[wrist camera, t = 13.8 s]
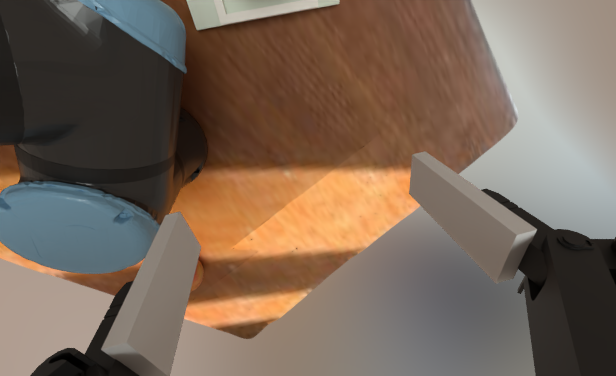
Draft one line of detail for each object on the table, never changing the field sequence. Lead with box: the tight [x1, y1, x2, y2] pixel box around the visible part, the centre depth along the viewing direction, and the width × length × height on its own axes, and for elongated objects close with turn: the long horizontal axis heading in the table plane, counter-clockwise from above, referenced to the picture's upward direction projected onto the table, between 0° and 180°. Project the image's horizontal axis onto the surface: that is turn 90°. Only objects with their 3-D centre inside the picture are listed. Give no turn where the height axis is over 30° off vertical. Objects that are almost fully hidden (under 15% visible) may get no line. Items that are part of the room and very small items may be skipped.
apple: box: [191, 260, 204, 291], centre depth 53 cm, size 7×7×8 cm
